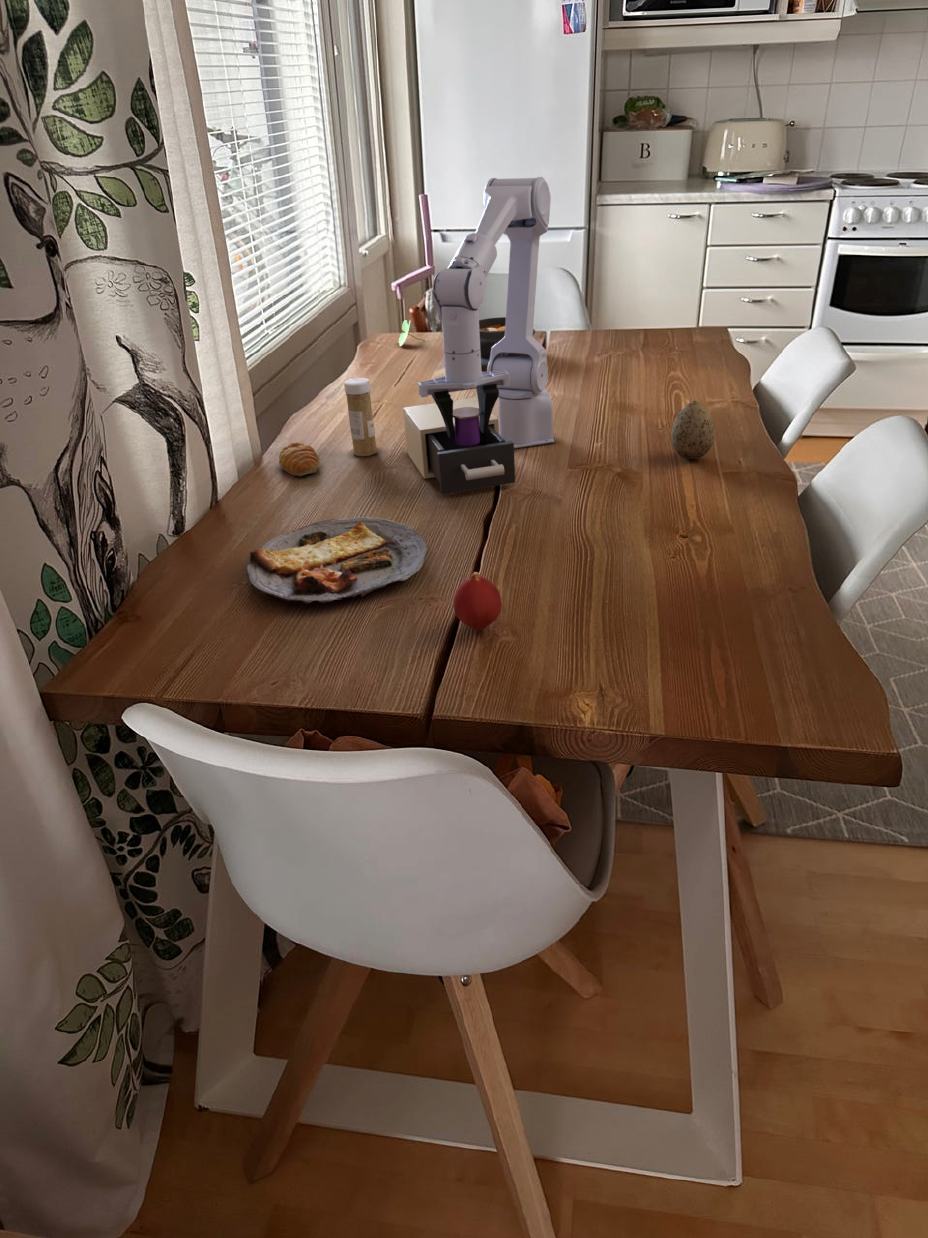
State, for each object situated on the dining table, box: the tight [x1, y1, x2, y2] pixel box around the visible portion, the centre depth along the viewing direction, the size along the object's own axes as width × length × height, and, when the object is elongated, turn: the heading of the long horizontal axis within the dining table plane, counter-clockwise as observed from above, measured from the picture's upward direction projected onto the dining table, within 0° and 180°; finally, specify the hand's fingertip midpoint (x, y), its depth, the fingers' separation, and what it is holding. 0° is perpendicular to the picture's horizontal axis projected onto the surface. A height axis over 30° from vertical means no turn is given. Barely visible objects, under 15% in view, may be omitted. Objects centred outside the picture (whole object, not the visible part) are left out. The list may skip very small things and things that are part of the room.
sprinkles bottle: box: [343, 377, 378, 457], centre depth 168 cm, size 5×5×14 cm
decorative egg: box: [670, 400, 716, 460], centre depth 156 cm, size 7×7×10 cm
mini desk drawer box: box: [402, 397, 500, 479], centre depth 163 cm, size 14×14×9 cm
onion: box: [452, 571, 503, 632], centre depth 111 cm, size 6×6×8 cm
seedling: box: [398, 319, 426, 347], centre depth 241 cm, size 7×8×6 cm
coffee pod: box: [453, 407, 482, 446], centre depth 150 cm, size 5×5×5 cm
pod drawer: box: [425, 425, 516, 495], centre depth 152 cm, size 17×12×7 cm
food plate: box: [245, 516, 428, 606], centre depth 129 cm, size 25×23×4 cm
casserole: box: [479, 316, 536, 367], centre depth 220 cm, size 25×19×8 cm
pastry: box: [278, 442, 320, 477], centre depth 164 cm, size 9×7×4 cm
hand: (467, 433), depth 151 cm, fingers closed on coffee pod, 5 cm apart
